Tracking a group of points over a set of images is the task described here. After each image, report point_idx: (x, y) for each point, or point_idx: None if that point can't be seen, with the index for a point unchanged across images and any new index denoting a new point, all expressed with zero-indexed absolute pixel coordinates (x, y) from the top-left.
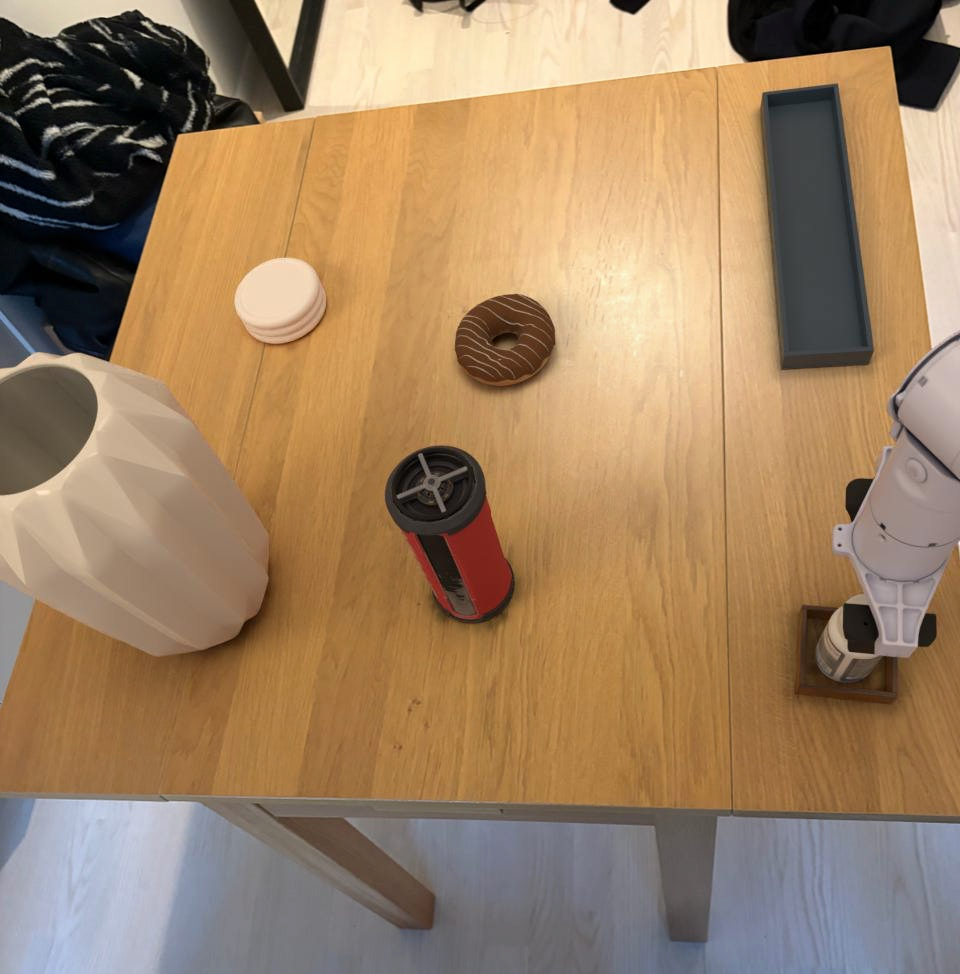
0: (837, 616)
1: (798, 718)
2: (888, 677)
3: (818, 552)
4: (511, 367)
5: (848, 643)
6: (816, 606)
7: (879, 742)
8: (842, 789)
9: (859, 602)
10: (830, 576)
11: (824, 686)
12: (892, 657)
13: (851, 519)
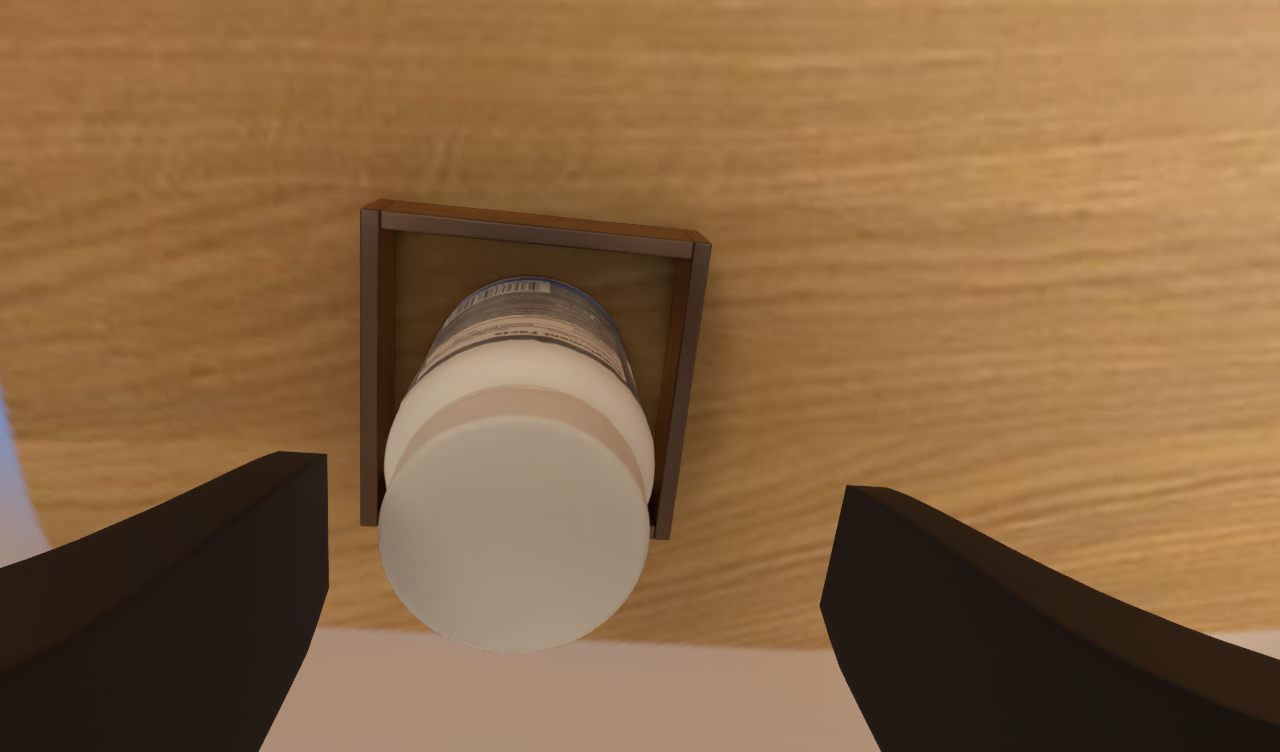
0: (573, 386)
1: (284, 204)
2: None
3: (920, 311)
4: None
5: (184, 493)
6: (701, 293)
7: (239, 451)
8: (40, 333)
9: (600, 505)
10: (827, 343)
11: (373, 301)
12: None
13: (1165, 689)
